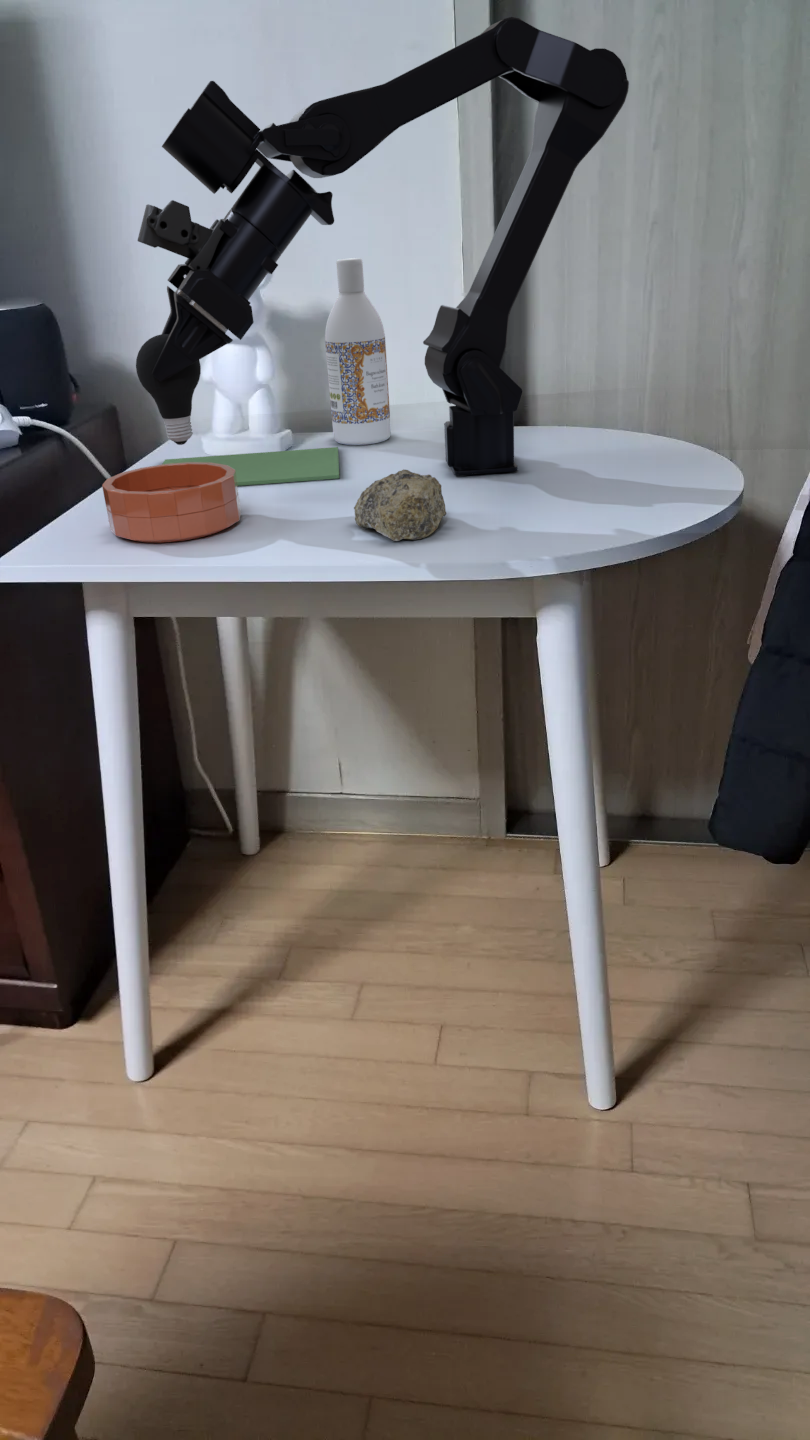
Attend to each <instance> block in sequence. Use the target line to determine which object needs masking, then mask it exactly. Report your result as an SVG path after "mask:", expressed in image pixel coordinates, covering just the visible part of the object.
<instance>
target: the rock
mask: <svg viewBox="0 0 810 1440" xmlns="http://www.w3.org/2000/svg"><path fill="white" fill-rule="evenodd" d="M353 510H354V522H355V523H356V525H357V526H358V527H361V528H362V529H374V530H375V531H376V532H377V533H379V534H381V535H382V536H384V537H386V538H389V539H390V540H392V542H393V541H394V542H399V541H401V540H411V541H416V540H421V539H424V538H427V537H429V536H431V535H432V534H433V533H434V532H435V531H436V530H437V529H438V528H439V526H440V523H441V521H442V519H443V517H445V516H446V515H447V510H446V504H445V500H444V496H443V492H442V484H441V483H440V481H439V480H438V479H437V478H436V477H435V476H432V475H431V474H420V473H416V472H412V471H410V470H408V469H401V470H399V471H398V472H395V473H391V474H388V475H387V476H385V477H382V478H380V479H377V480H374V482H372V483H371V484H370V485H369V486H368V487H366V488H365V489H364V490H363V491H361V494H360V496H359V498H358V499H357V501H356V503H355V505H354V507H353Z"/></svg>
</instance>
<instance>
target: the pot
mask: <svg viewBox="0 0 810 1440" xmlns="http://www.w3.org/2000/svg"><path fill="white" fill-rule="evenodd" d="M101 485H102V486H101V487H102V492H103V499H104V504H105V508H106V514H107V519H108V524H109V525H108V526H109V530H110V531H111V532H112V533H113V534H114V535H115V537H119V538H123V539H126V540H130V541H133V542H140V543H154V544H156V543H159V544H160V543H173V542H176V543H177V542H183V541H190V540H194V539H195V540H196V539H199V538H204V537H209V536H211V535H214V534H217V533H219V532H222V531H224V530H226V529H227V528H229V527H232V526H233V525H234V524H236V523H238V522H239V521H240V519H241V515H242V510H241V503H240V502H241V501H240V494H239V488H238V487H239V486H237V478H236V471H235V469H233V468H231V467H229V466H228V465H223V464H217V463H207V462H185V463H172V464H163V463H162V464H156V465H151V466H150V465H149V466H144V467H139V468H134V469H131V470H128V471H123V472H120V473H118V474H115V475H113V476H111V477H109V478H107V479H106V480H105V481H104V482H103V483H102V484H101Z"/></svg>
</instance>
